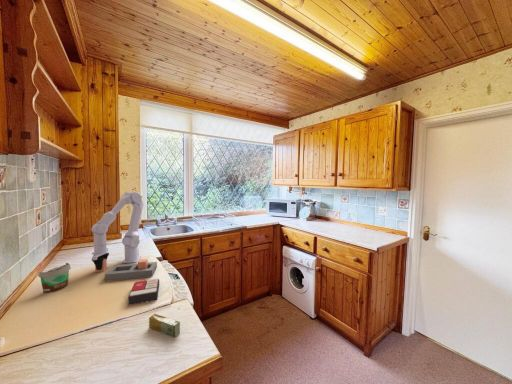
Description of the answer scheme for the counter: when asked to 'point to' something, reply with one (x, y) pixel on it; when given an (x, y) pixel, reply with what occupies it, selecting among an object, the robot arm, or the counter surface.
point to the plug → (104, 266)
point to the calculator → (144, 291)
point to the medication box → (164, 325)
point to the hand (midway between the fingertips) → (101, 267)
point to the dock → (131, 270)
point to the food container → (55, 278)
